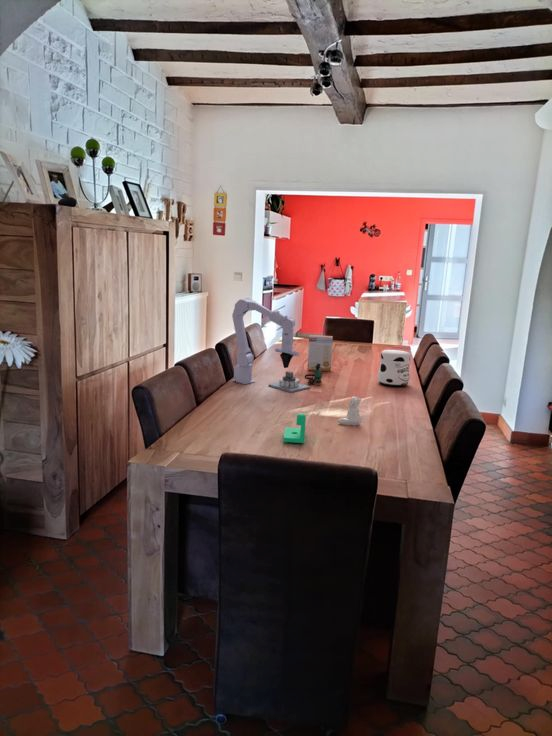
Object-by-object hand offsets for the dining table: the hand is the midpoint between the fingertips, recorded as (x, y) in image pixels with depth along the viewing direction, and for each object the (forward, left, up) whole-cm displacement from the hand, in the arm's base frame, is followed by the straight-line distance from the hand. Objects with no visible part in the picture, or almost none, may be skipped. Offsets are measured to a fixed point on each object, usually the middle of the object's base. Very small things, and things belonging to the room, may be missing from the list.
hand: (285, 367), depth 279 cm
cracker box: (-15, +46, -11) cm, 49 cm away
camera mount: (+57, -55, -11) cm, 80 cm away
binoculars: (+4, +18, -11) cm, 21 cm away
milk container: (+32, +53, -11) cm, 63 cm away
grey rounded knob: (+2, +1, -9) cm, 9 cm away
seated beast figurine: (+59, -22, -11) cm, 64 cm away
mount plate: (+2, +1, -10) cm, 10 cm away
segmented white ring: (+2, +1, -10) cm, 10 cm away
